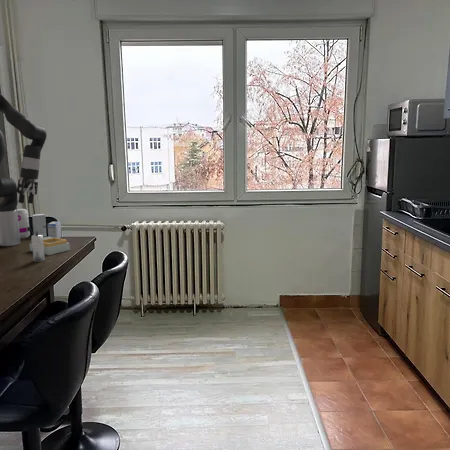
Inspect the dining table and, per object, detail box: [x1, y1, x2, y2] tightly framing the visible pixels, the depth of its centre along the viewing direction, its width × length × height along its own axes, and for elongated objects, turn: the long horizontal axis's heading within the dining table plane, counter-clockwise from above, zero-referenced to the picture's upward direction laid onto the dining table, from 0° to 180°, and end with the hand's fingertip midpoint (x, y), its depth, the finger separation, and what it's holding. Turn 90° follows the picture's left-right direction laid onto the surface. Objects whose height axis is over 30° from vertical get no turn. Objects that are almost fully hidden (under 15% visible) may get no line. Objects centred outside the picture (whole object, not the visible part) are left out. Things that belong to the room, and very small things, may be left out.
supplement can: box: [17, 208, 31, 239], centre depth 227 cm, size 8×8×15 cm
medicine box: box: [47, 221, 62, 239], centre depth 223 cm, size 8×4×9 cm, turn 4°
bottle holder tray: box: [28, 236, 71, 256], centre depth 198 cm, size 15×11×5 cm
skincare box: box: [31, 213, 48, 238], centre depth 228 cm, size 6×4×12 cm
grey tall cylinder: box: [30, 232, 46, 263], centre depth 180 cm, size 4×4×12 cm
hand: (25, 203), depth 194 cm, fingers open, 8 cm apart
